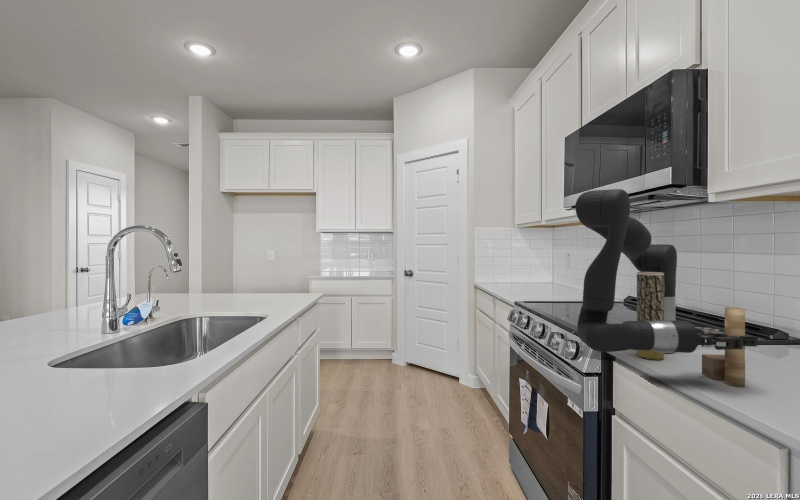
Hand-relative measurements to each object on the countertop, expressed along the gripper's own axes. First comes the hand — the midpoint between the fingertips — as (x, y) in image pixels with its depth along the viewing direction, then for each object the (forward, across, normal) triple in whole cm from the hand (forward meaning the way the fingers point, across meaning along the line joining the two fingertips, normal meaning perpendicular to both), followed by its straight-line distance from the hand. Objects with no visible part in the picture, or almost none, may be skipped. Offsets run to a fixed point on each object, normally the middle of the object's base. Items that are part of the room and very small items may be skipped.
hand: (747, 338), depth 90 cm
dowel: (-3, 0, +11) cm, 11 cm away
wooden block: (-2, +5, +11) cm, 12 cm away
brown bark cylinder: (-12, +21, +11) cm, 26 cm away
